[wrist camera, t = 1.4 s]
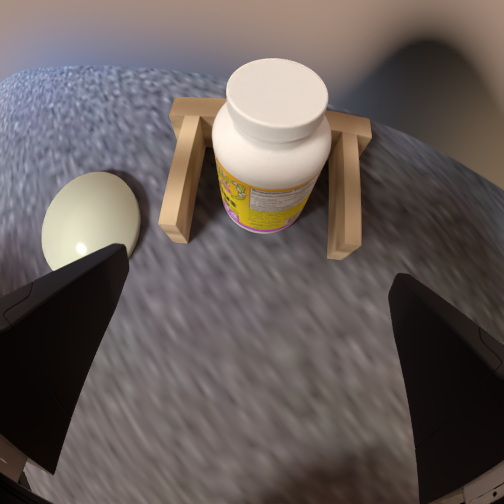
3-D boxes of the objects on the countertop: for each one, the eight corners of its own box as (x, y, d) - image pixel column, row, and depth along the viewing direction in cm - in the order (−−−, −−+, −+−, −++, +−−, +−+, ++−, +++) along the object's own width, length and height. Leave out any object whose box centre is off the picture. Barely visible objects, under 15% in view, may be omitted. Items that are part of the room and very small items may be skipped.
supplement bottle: (222, 164, 25) (207, 47, 13) (298, 162, 25) (333, 49, 13) (223, 238, 24) (201, 147, 11) (307, 235, 24) (364, 147, 11)
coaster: (85, 309, 22) (79, 308, 21) (33, 233, 23) (27, 229, 22) (164, 222, 24) (161, 218, 23) (100, 158, 25) (96, 153, 24)
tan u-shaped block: (356, 261, 23) (378, 247, 19) (158, 240, 23) (140, 222, 19) (353, 146, 26) (369, 118, 22) (183, 128, 26) (175, 97, 22)
